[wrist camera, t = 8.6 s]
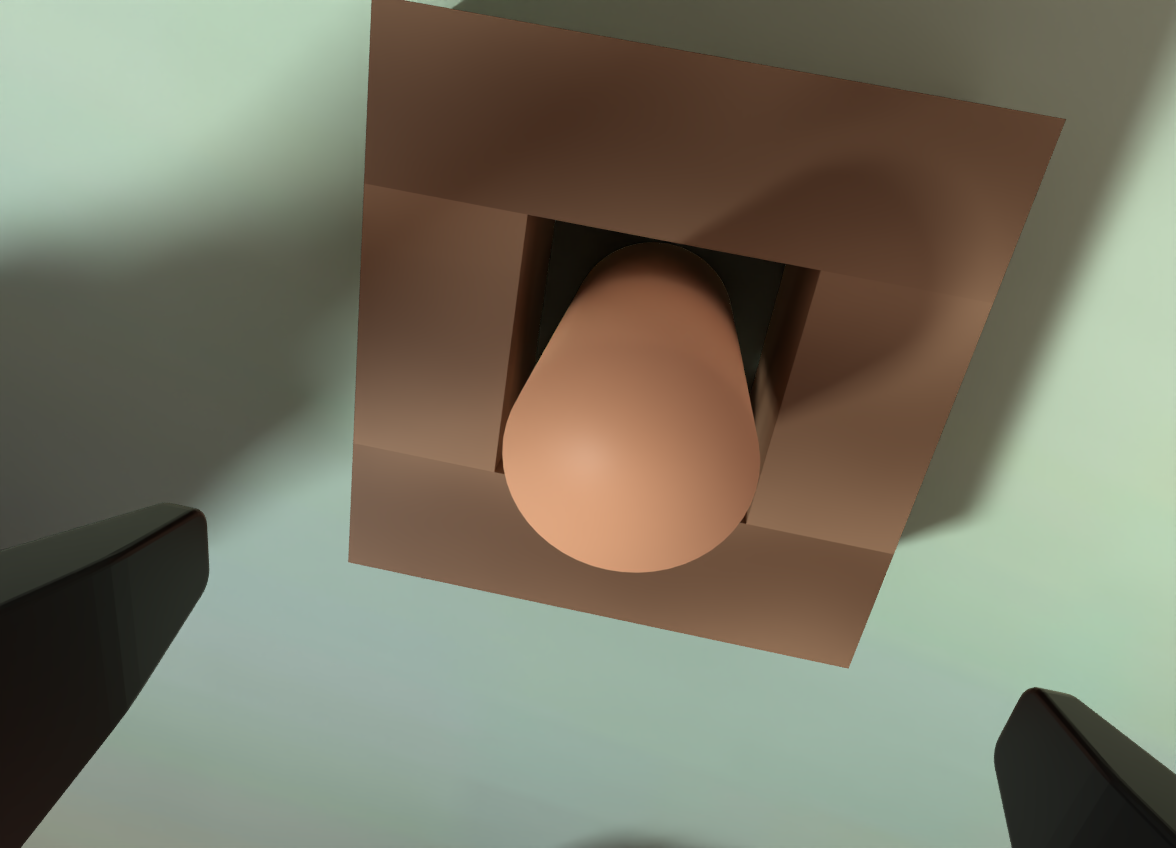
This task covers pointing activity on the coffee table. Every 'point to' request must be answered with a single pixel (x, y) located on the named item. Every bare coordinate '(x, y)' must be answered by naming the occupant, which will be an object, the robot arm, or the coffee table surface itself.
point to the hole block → (686, 216)
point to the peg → (637, 418)
